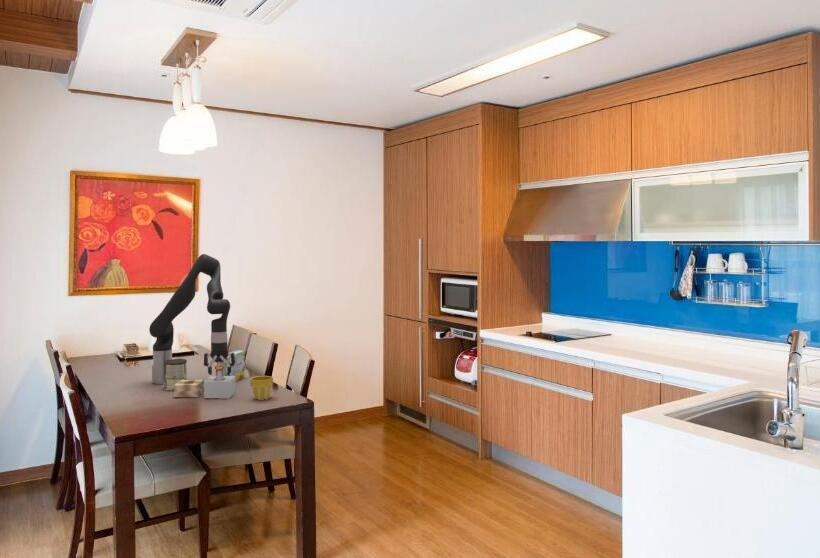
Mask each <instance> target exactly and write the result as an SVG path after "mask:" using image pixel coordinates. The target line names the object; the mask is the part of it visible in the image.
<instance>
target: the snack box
mask: <svg viewBox="0 0 820 558" xmlns="http://www.w3.org/2000/svg"><path fill="white" fill-rule="evenodd" d="M245 352H246V351H245V350H240V349H238V350H237V349H236V350H232V351H231V352H229V353H235V365H234V366H231V373H230V374H229V375H228V370H227V367H228V366H227V365H226V364H225V363H224V362H216V366H217V365H224V366H225V368H224V376H235V381H236V382H238V381H240V380H242V379H244V378H245V377H246V376H245V374H246V373H245V366H246V363H245V356H246V355H245V354H246V353H245ZM227 359H228V360H229V362H230V363H232V362H231V358H230V356H228V357H227ZM243 377H244V378H243ZM241 378H242V379H241ZM239 379H240V380H239ZM237 380H238V381H237Z"/></svg>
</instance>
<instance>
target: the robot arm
mask: <svg viewBox="0 0 820 558" xmlns="http://www.w3.org/2000/svg"><path fill="white" fill-rule="evenodd" d="M201 273H202V274H204V275H207V276H209V277H210V280H209V281H208V282H207V285H206V293H207V297H208V301H207V306H206V310H207V312H208V313H209V314H210V315H221V316H220V317H219V318H214V319H212V320H211V322H210V326H211V327H210V328H211V330H210V331H211V332H210V333H211V334H210V353H208V352H205V353H204V355H203V366H204V367H207V373H208V374H209V376H212V374H213V366H212V365H213V364H214V363H217V362H224V363H225V364H226V365H227V366H228V367H227V370H228V375H229V374H230V373H231V366H234V365H235V353H230V352H228V351H229V350H228V331H227V329H228V328H227V325H228V324H227V321H228V317H229V313H230V310H231V302H230V301H229V299H227V298H224V291H223V288H222V284H221V283H222V281H221V274H222V273H221V263H220V260H218V259H216V258H215V257H213V256H211V255H208V254H205V253H202V254H200V255H199V256H198V258H196V260H195V262H194V263H193V266H192V267H191V268H190V270H189V272H188V274H187V275H186V277H185V278H184V279H183V281H182V283H180V285H179V287H178V288H177V289H176V290H175V292H174V293H173V294H172V296H171V297H170V299H169V301H168V302H167V303H166V305H165V306H164V308H163V310H161V312H160V313H159V314H158V315H157V316H156V318H155V319H153V320H152V322H151V323H150V325H149V328H148V329H149V330H148V331H149V334H150V336H151V337H153V338H155V339H156V340H155V342H154V343H153V344H152V365H151V383H155V385H165V384H164V383H166V377H165V361H167V360H172V359H173V344H174V335H175V334H174V323H173V321H174V320H175V318H177V316H179V315H180V314H181V313H183V311H185V310H186V309H187V307H189V306H190V304H191V302H192V301H193V300H194V299H195V296H196V290H197V289H196V288H197V287H196V286H197V285H196V281H197V279H198V276H199V275H200V274H201ZM228 356H230V358H231V362H232V363H230V362H229V360H228V359H227V357H228ZM210 357H211V360H210V362H209V363H208V361H209V358H210Z"/></svg>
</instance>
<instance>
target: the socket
mask: <svg viewBox="0 0 820 558" xmlns="http://www.w3.org/2000/svg"><path fill="white" fill-rule="evenodd" d="M236 391H237V389H236V382H235V376H224V380H216V375H215V376H212V375H209V377H207V379H206V380H204V392H203V399H204V398H219V399H231V398H232V397H233V396H234V394H235V393H236ZM232 395H233V396H232ZM231 396H232V397H231ZM230 397H231V398H230Z"/></svg>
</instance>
